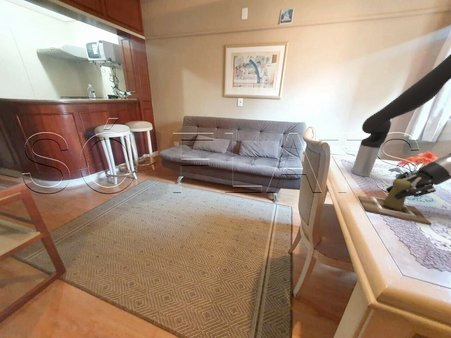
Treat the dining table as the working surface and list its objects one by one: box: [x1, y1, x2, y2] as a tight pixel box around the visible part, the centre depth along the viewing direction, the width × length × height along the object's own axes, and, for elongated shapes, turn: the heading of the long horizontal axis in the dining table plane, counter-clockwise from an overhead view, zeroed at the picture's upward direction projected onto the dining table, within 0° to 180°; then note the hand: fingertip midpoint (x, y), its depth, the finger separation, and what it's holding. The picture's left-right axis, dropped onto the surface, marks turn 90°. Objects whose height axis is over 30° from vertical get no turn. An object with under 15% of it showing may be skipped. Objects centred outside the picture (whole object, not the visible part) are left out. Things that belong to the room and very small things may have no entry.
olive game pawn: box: [383, 178, 411, 209], centre depth 72 cm, size 6×6×11 cm
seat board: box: [357, 195, 432, 226], centre depth 75 cm, size 12×20×2 cm, turn 68°
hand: (391, 194), depth 73 cm, fingers closed on olive game pawn, 4 cm apart
